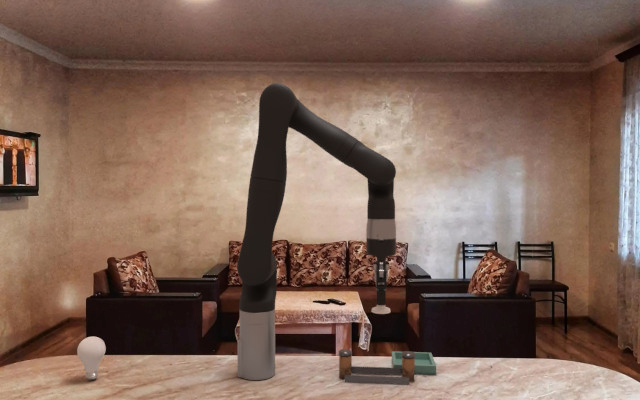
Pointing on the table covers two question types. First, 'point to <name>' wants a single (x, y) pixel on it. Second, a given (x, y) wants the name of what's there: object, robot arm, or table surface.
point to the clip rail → (376, 370)
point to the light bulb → (91, 355)
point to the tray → (417, 362)
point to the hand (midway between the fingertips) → (381, 303)
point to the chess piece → (381, 308)
